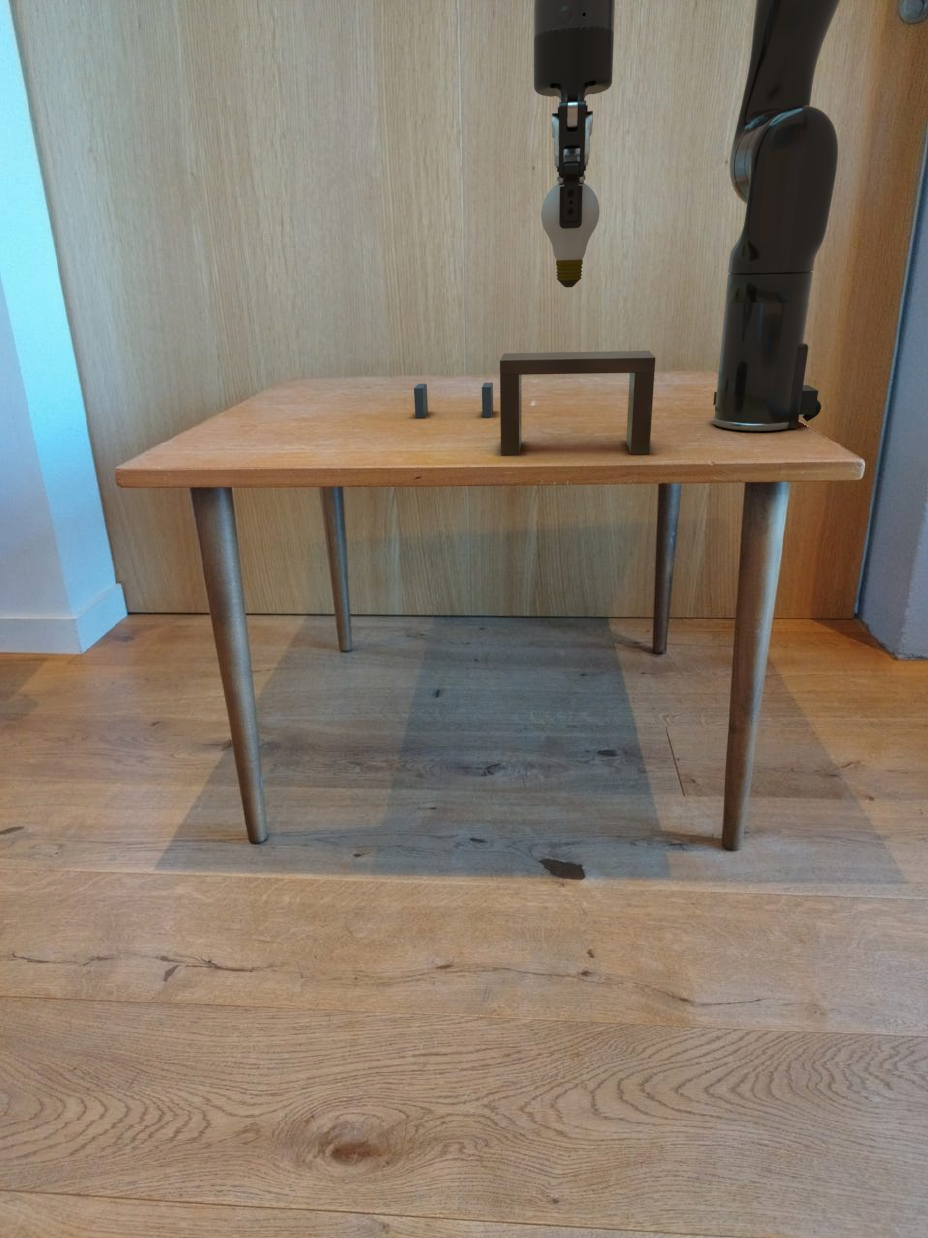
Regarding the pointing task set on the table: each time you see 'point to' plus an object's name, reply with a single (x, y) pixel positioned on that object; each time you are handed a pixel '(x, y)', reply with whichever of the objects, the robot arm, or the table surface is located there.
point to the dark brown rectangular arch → (578, 363)
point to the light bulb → (569, 233)
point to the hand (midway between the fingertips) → (570, 228)
